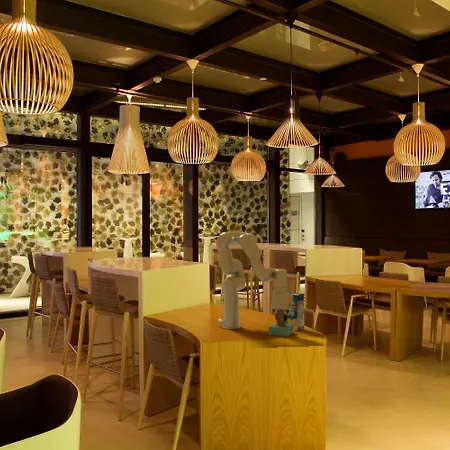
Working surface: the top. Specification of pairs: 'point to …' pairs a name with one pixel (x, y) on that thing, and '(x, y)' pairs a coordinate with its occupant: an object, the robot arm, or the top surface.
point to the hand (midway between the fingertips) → (281, 320)
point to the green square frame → (280, 330)
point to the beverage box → (296, 311)
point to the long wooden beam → (280, 318)
